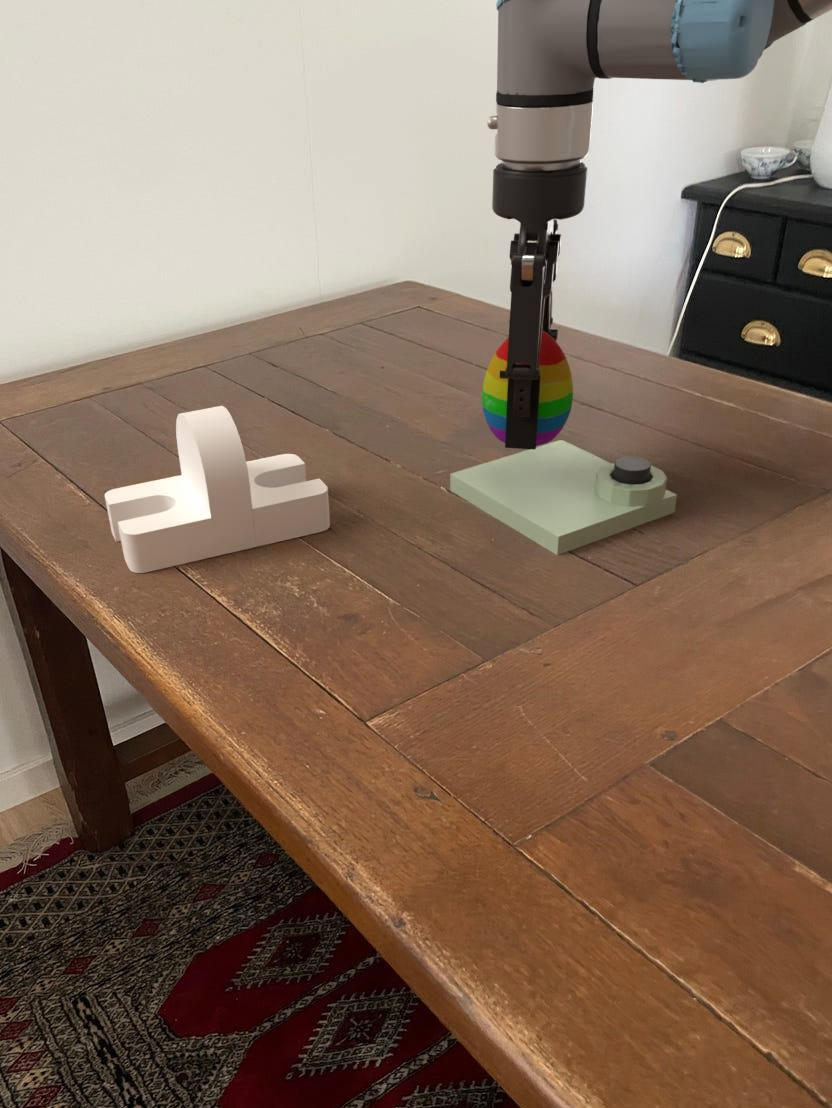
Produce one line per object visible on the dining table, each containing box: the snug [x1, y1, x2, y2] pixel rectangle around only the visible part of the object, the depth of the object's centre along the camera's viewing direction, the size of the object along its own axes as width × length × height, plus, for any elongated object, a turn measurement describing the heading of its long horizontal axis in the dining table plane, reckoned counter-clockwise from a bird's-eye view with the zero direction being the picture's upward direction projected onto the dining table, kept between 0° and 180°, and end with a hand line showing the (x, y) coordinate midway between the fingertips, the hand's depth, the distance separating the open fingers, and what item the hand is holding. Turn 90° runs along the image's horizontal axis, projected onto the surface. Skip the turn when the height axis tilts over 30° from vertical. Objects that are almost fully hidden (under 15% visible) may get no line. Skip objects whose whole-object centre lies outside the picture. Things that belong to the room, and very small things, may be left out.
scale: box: [449, 439, 678, 556], centre depth 97 cm, size 16×14×4 cm
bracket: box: [104, 405, 331, 574], centre depth 93 cm, size 19×10×11 cm, turn 113°
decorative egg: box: [481, 330, 574, 447], centre depth 93 cm, size 8×8×10 cm
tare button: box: [613, 456, 652, 485], centre depth 93 cm, size 3×3×2 cm
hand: (525, 427), depth 95 cm, fingers closed on decorative egg, 8 cm apart
